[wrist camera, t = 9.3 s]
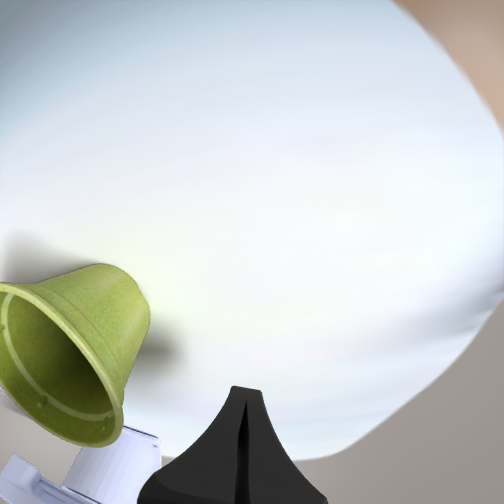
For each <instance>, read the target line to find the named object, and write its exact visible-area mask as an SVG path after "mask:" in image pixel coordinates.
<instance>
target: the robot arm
mask: <svg viewBox="0 0 504 504" xmlns="http://www.w3.org/2000/svg"><path fill="white" fill-rule="evenodd" d="M0 497H1V498H2V499H4V500H5V501H6V502H7V503H8V504H328V501H327V498H326V497H325V496H324V495H323V494H321V493H320V492H319V491H318V490H317V489H316V488H315V487H314V486H313V485H312V484H311V483H310V482H309V481H308V480H307V479H306V478H305V477H304V476H303V475H302V473H301V472H300V471H299V470H298V469H297V467H296V466H295V465H294V464H293V462H292V461H291V459H290V458H289V456H288V455H287V453H286V452H285V450H284V448H283V447H282V445H281V443H280V441H279V439H278V437H277V435H276V433H275V431H274V429H273V426H272V424H271V421H270V419H269V416H268V414H267V410H266V407H265V404H264V400H263V396H262V392H261V391H260V390H255V389H249V388H244V387H239V386H232V387H231V390H230V393H229V395H228V398H227V400H226V402H225V404H224V405H223V407H222V409H221V410H220V412H219V413H218V415H217V416H216V418H215V419H214V421H213V422H212V423H211V425H210V426H209V427H208V428H207V430H206V431H205V432H204V433H203V434H202V435H201V436H200V437H199V438H198V439H197V440H196V441H195V442H194V443H193V444H192V445H191V446H190V447H189V448H188V449H187V450H186V451H185V452H183V453H182V454H181V455H179V456H178V457H177V458H176V459H174V460H173V461H172V462H170V463H169V464H167V465H166V466H164V467H162V466H161V442H160V440H159V439H157V438H155V437H152V436H149V435H146V434H143V433H140V432H137V431H134V430H131V429H128V428H125V427H123V428H122V432H121V434H120V436H119V438H118V439H117V440H116V441H115V442H114V443H113V444H111V445H108V446H106V447H102V448H89V447H82V449H81V451H80V452H79V454H78V456H77V457H76V459H75V461H74V463H73V464H72V466H71V468H70V470H69V471H68V473H67V475H66V477H65V478H64V480H63V482H62V484H61V485H60V487H59V486H57V485H56V484H54V483H52V482H50V481H49V480H47V479H45V478H44V477H42V475H41V473H40V472H39V471H38V470H37V469H36V468H35V467H34V466H33V465H31V464H30V463H28V462H27V461H25V460H24V459H22V458H21V457H20V456H18V455H17V454H13V455H12V456H11V458H10V459H9V461H8V462H7V464H6V465H5V466H4V468H3V469H2V470H1V472H0Z"/></svg>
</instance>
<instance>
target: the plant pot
mask: <svg viewBox="0 0 504 504" xmlns="http://www.w3.org/2000/svg"><path fill="white" fill-rule="evenodd" d="M149 324H150V310H149V306H148V303H147V302H146V300H145V299H144V297H143V295H142V293H141V291H140V289H139V288H138V285H137V283H136V282H135V280H134V279H132V278H131V277H130V276H129V275H128V274H127V273H125V272H124V271H123V270H121V269H119V268H117V267H115V266H111V265H107V264H95V265H91V266H88V267H85V268H82V269H79V270H76V271H73V272H70V273H67V274H63V275H60V276H57V277H54V278H51V279H48V280H44V281H41V282H38V283H35V284H32V283H22V284H17V285H16V284H13V283H8V282H0V384H1V386H2V387H3V389H4V390H5V391H6V393H7V394H8V395H9V396H10V398H11V399H12V400H13V401H14V402H15V403H16V405H17V406H18V407H19V408H20V409H21V410H22V411H23V412H24V413H25V414H26V415H28V416H29V417H30V418H31V419H32V420H34V421H35V422H36V423H37V424H39V425H40V426H41V427H42V428H44V429H46V430H47V431H49V432H50V433H52V434H53V435H56V436H57V437H59V438H61V439H63V440H65V441H67V442H71V443H73V444H76V445H79V446H83V447H89V448H102V447H106V446H108V445H111V444H113V443H114V442H115V441H116V440H117V439H118V438H119V436H120V434H121V432H122V428H123V421H124V417H123V410H122V404H123V400H124V387H125V385H126V382H127V380H128V377H129V374H130V372H131V369H132V367H133V364H134V361H135V359H136V356H137V354H138V351H139V349H140V347H141V344H142V342H143V340H144V338H145V335H146V333H147V331H148V328H149Z"/></svg>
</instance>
